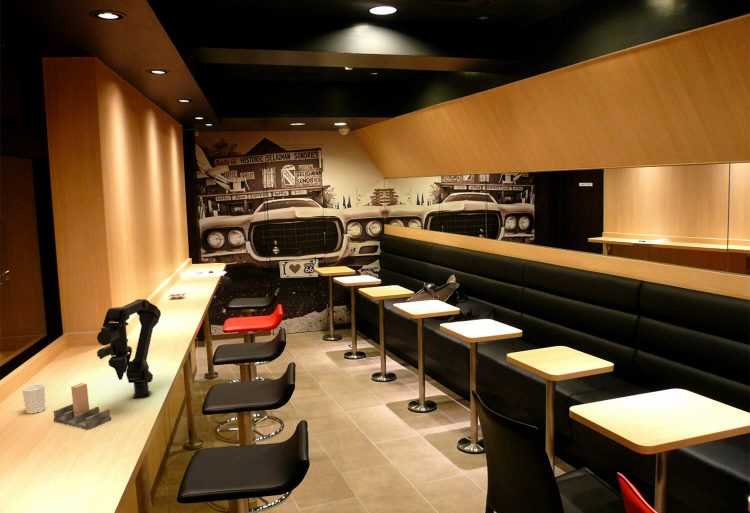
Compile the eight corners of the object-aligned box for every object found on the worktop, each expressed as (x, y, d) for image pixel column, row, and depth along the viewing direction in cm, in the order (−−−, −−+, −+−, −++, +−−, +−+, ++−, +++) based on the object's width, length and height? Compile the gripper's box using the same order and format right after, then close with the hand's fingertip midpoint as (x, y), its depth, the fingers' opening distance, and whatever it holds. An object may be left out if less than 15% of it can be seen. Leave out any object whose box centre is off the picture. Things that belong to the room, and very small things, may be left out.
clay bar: (84, 414, 238) (81, 382, 236) (89, 416, 236) (86, 384, 235) (74, 419, 234) (71, 386, 232) (79, 420, 232) (76, 387, 231)
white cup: (22, 415, 242) (19, 391, 241) (27, 408, 249) (25, 385, 248) (44, 413, 244) (41, 389, 243) (49, 406, 252) (46, 383, 250)
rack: (76, 411, 244) (75, 402, 244) (111, 419, 235) (110, 409, 235) (53, 421, 235) (52, 410, 235) (88, 429, 226) (87, 419, 226)
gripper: (102, 334, 252) (105, 371, 254) (92, 346, 234) (96, 385, 236) (130, 332, 254) (133, 368, 256) (123, 343, 236) (126, 382, 238)
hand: (122, 376), depth 246 cm, fingers open, 9 cm apart
